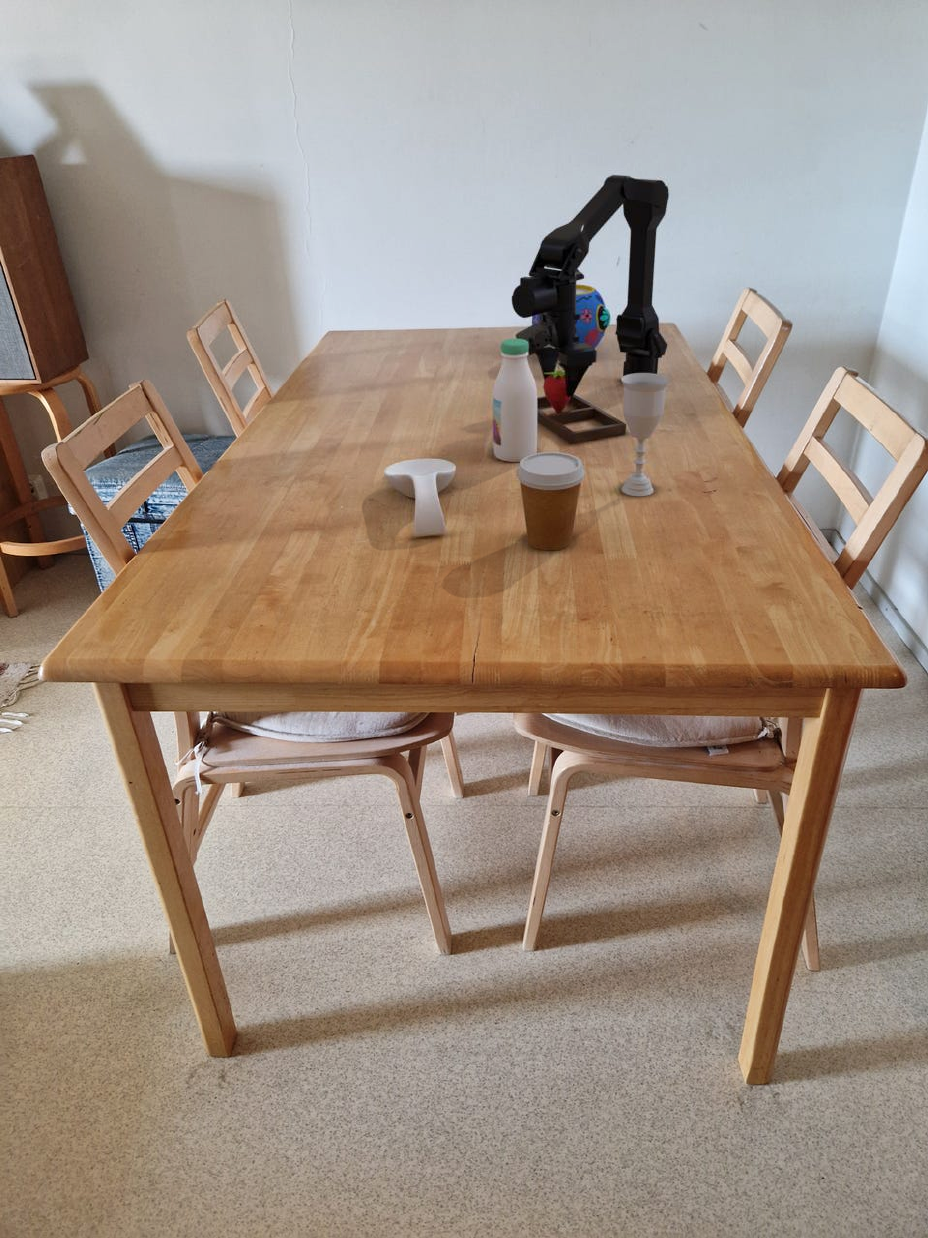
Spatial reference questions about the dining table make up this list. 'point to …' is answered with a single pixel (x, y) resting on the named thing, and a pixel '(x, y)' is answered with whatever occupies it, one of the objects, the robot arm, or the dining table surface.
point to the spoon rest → (423, 490)
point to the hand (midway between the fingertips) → (558, 389)
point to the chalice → (642, 421)
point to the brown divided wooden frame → (583, 413)
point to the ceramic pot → (588, 316)
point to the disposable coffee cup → (550, 497)
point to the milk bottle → (514, 404)
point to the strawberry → (556, 390)
